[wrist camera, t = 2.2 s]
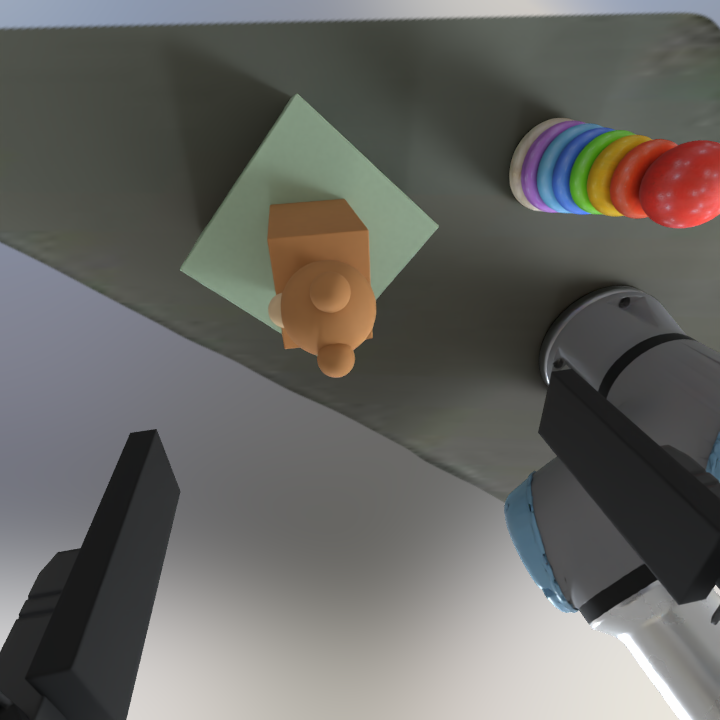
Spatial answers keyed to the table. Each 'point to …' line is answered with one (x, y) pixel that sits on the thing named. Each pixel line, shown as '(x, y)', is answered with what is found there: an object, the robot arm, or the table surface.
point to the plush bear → (321, 280)
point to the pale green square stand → (302, 184)
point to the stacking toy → (616, 174)
